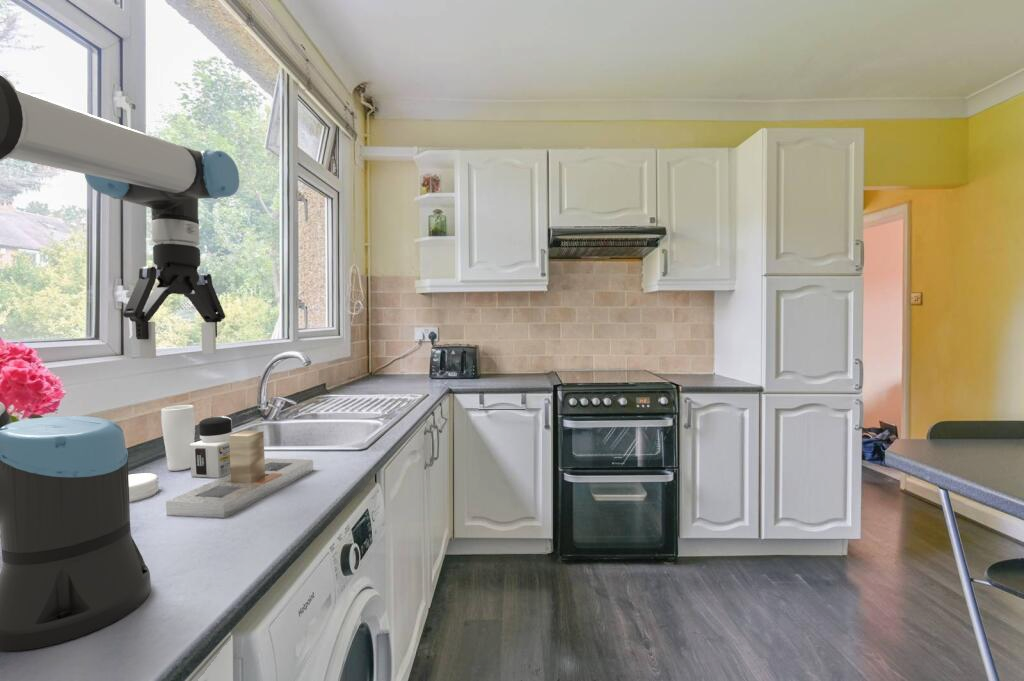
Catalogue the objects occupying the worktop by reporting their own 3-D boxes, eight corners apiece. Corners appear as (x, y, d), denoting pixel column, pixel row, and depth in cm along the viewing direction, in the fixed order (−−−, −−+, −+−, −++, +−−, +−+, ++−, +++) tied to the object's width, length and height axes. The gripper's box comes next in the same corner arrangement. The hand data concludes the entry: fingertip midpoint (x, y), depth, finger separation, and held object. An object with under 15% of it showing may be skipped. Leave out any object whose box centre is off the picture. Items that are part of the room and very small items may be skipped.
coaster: (91, 499, 101) (90, 482, 100) (149, 485, 109) (148, 469, 108) (106, 509, 95) (105, 491, 94) (166, 494, 103) (165, 477, 102)
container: (219, 478, 112) (216, 421, 111) (190, 477, 113) (187, 420, 112) (244, 468, 119) (241, 414, 118) (216, 467, 121) (214, 414, 120)
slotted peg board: (224, 518, 89) (223, 503, 88) (166, 514, 91) (165, 500, 91) (313, 470, 116) (312, 459, 116) (267, 468, 118) (267, 457, 118)
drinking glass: (164, 467, 121) (161, 406, 120) (197, 462, 125) (194, 403, 124) (163, 474, 115) (160, 410, 115) (197, 469, 119) (194, 407, 119)
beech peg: (251, 494, 101) (248, 436, 100) (231, 493, 102) (228, 435, 101) (265, 486, 105) (263, 431, 105) (246, 486, 106) (244, 430, 105)
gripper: (130, 232, 82) (135, 359, 82) (241, 253, 106) (245, 352, 107) (93, 234, 83) (98, 360, 84) (212, 255, 108) (215, 352, 108)
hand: (180, 356), depth 95 cm, fingers open, 13 cm apart
